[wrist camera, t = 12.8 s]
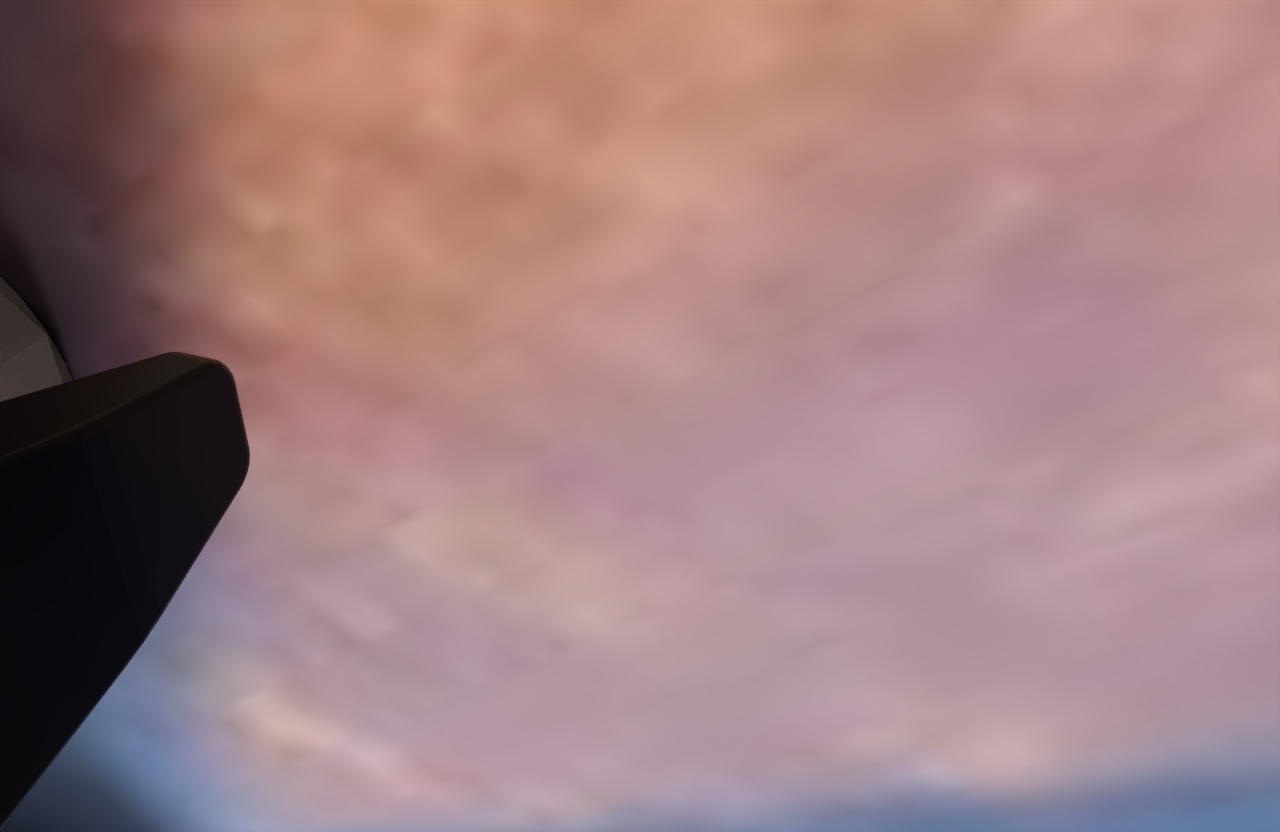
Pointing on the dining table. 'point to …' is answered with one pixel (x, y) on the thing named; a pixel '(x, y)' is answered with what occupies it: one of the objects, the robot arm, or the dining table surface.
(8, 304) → the coffeepot
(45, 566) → the robot arm
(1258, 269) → the dining table surface
